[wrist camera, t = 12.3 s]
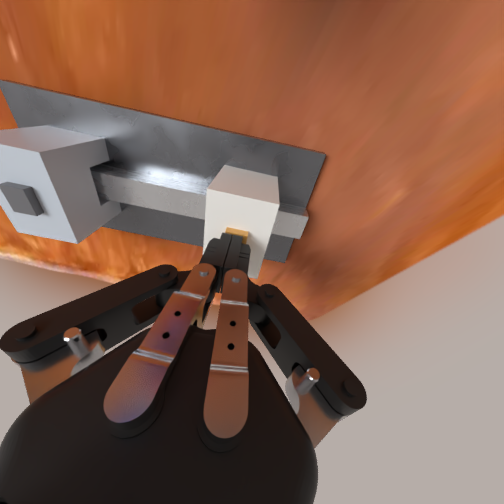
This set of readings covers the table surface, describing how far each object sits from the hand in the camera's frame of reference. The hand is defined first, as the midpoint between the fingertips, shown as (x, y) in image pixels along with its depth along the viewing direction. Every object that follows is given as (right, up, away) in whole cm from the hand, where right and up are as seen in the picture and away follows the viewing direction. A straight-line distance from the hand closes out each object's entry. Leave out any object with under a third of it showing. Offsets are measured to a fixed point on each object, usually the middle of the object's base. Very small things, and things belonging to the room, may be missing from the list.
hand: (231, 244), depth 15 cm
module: (+1, +4, +5) cm, 7 cm away
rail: (-6, +6, +6) cm, 10 cm away
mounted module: (-14, +7, +5) cm, 16 cm away
